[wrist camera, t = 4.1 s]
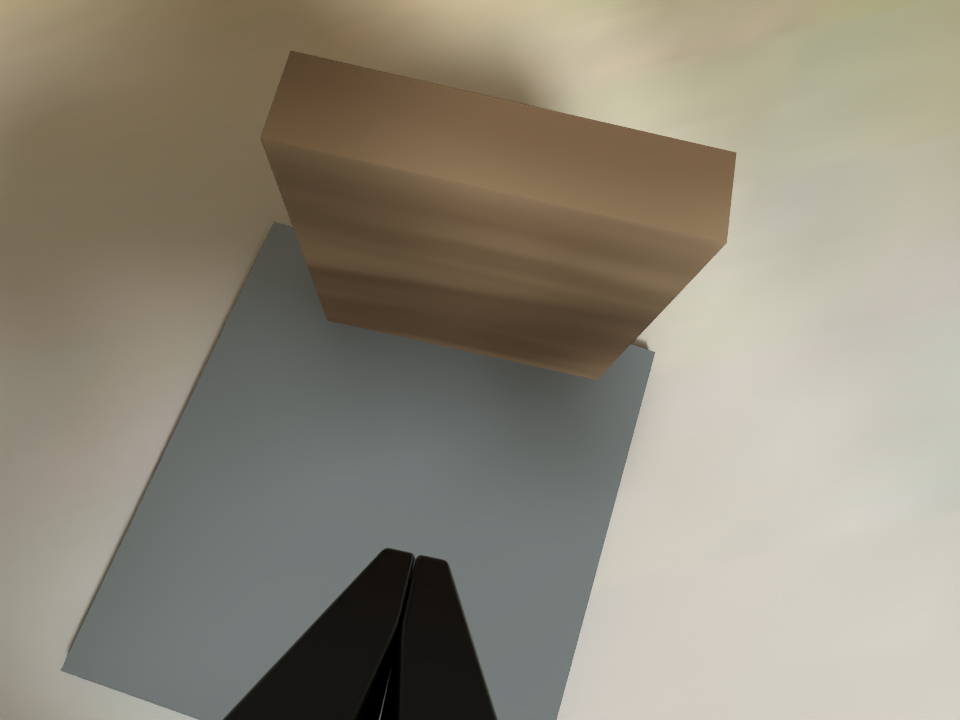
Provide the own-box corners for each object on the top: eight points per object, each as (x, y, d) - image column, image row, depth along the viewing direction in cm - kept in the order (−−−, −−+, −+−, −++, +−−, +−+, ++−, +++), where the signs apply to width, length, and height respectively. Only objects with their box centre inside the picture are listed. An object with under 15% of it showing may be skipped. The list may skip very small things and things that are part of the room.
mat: (523, 829, 17) (525, 834, 17) (68, 668, 18) (60, 670, 17) (650, 356, 21) (654, 352, 21) (276, 227, 21) (273, 221, 21)
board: (597, 379, 20) (726, 243, 12) (327, 320, 20) (260, 138, 12) (606, 323, 21) (736, 153, 12) (343, 264, 21) (290, 50, 12)
